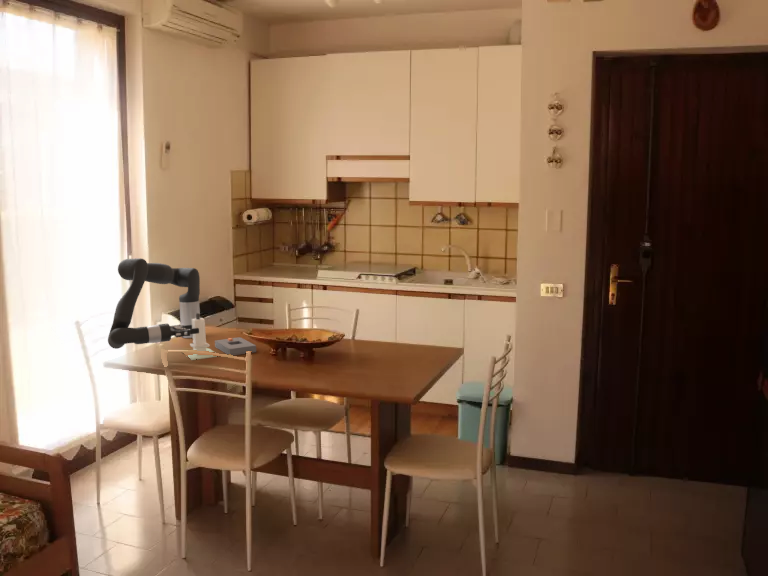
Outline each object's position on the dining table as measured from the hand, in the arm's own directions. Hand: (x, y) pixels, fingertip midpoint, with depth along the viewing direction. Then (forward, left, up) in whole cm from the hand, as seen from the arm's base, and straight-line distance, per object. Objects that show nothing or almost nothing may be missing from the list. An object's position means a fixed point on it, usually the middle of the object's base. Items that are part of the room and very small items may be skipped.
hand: (195, 328), depth 336 cm
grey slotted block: (0, +17, -12) cm, 21 cm away
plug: (0, +1, -11) cm, 11 cm away
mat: (0, +1, -12) cm, 12 cm away
